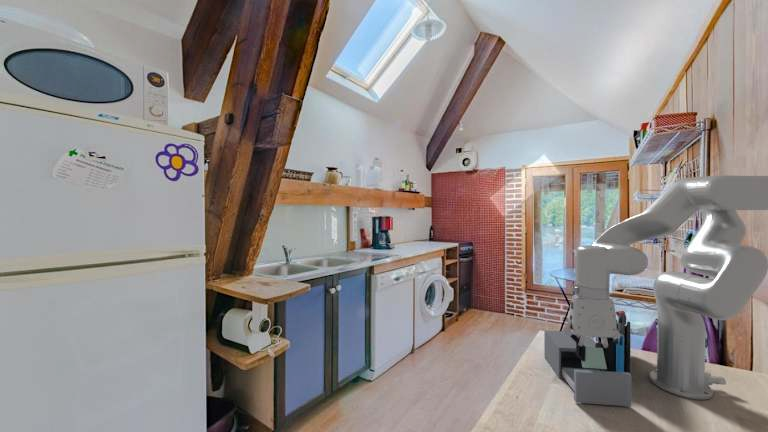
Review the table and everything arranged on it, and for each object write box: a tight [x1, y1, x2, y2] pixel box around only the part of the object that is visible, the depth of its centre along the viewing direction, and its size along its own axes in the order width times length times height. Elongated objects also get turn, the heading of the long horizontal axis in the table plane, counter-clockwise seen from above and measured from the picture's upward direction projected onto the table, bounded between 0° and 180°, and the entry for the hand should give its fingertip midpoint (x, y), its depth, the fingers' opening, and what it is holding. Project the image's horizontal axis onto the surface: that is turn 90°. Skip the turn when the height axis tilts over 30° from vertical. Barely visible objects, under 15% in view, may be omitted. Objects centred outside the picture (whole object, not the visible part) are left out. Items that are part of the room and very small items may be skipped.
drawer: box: [561, 367, 632, 407], centre depth 84 cm, size 13×13×8 cm
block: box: [581, 347, 607, 369], centre depth 82 cm, size 4×4×5 cm
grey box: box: [543, 330, 604, 380], centre depth 95 cm, size 12×12×9 cm
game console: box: [604, 310, 631, 374], centre depth 95 cm, size 28×6×15 cm, turn 141°
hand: (590, 358), depth 83 cm, fingers closed on block, 3 cm apart
